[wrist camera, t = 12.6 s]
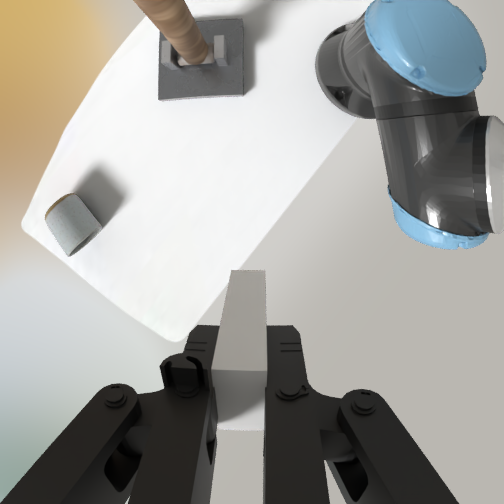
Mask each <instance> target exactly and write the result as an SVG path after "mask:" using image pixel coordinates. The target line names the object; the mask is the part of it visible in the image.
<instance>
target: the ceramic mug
mask: <svg viewBox="0 0 504 504" xmlns="http://www.w3.org/2000/svg"><path fill="white" fill-rule="evenodd" d="M45 221H46V224H47V226H48V228H49V229H50V231H51V232H52V234H53V235H54V237H55V238H56V240H57V242H58V243H59V245H60V246H61V248H62V249H63V251H64V252H65V253H66V255H67V256H68V257H69V256H72V255H74V254H75V253H76V252H78V251H79V250H80V249H82V248H83V247H84V246H85V245H86V244H88V243H89V242H90V241H91V240H92V239H93V238H94V237H95V236H96V235H97V234H98V233H99V232H100V231H101V229H102V226H101V225H100V223H99V222H98V221H97V220H96V218H95V217H94V216H93V215H92V213H91V212H90V211H89V209H88V208H87V207H86V206H85V204H84V203H83V201H82V200H81V199H80V198H79V197H78V196H77V195H76V194H73V193H70V194H67V195H65V196H63V197H61V198H60V199H59V200H57V201H56V202H55V203H54V204H53V205H52V206H51V207H50V208H49V209H48V211H47V212H46V215H45Z"/></svg>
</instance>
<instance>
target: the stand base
mask: <svg viewBox="0 0 504 504" xmlns="http://www.w3.org/2000/svg"><path fill="white" fill-rule="evenodd" d="M196 24H197V26H198V28H199V30H200V32H201V34H202V36H203V38H204V40H205V42H206V43H214V59H215V62H214V63H208V64H198V65H183V66H180V65H179V63H178V55H177V53H178V52H177V50H176V49H175V48H174V47H173V46H172V44H171V43H170V42H169V41H168V40H167V39H166V37H165V36H164V35H163V34H162V33H161V31H160V39H159V81H158V100H160V101H170V100H181V99H194V98H211V97H238V96H243V21H242V19H225V20H209V21H198V22H196Z"/></svg>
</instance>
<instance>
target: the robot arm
mask: <svg viewBox="0 0 504 504" xmlns="http://www.w3.org/2000/svg"><path fill="white" fill-rule="evenodd" d="M315 69H316V75H317V79H318V82H319V84H320V87H321V89H322V90H323V92H324V94H325V95H326V96H327V98H328V99H329V100H330V101H331V102H332V103H333V104H334V105H335V106H337V107H338V108H339V109H341V110H342V111H344V112H346V113H348V114H350V115H352V116H355V117H359V118H365V119H376V121H377V125H378V130H379V135H380V139H381V144H382V149H383V154H384V159H385V165H386V170H387V176H388V182H389V185H388V194H389V197H390V198H391V201H392V206H393V211H394V217H395V220H396V222H397V223H398V225H399V227H400V228H401V230H402V231H403V232H404V233H405V234H406V235H408V236H409V237H411V238H412V239H414V240H416V241H418V242H420V243H423V244H426V245H429V246H432V247H437V248H442V249H457V248H458V247H462V248H464V249H468V248H473V247H476V246H478V245H480V244H482V243H483V242H484V241H485V240H486V239H487V237H488V235H489V233H496V234H500V233H501V232H502V231H504V123H503V122H502V121H501V120H500V119H499V118H498V117H496V116H480V115H479V112H478V107H477V102H476V97H475V92H474V89H476V87H477V86H478V85H479V84H480V83H481V81H482V79H483V75H482V73H483V72H484V71H485V70H486V54H485V49H484V46H483V43H482V40H481V38H480V36H479V34H478V32H477V30H476V28H475V27H474V25H473V24H472V22H471V21H470V19H469V18H468V17H467V16H466V15H465V14H464V13H463V12H462V11H461V10H460V9H459V8H458V7H457V6H454V5H452V4H451V3H450V2H449V1H448V0H375V1H373V2H372V3H371V4H370V6H368V8H367V10H366V11H365V12H364V13H363V14H362V16H361V17H360V18H359V19H358V20H357V21H356V23H352V24H347V25H344V26H341V27H339V28H337V29H335V30H334V31H332V32H331V33H330V34H329V35H328V36H327V37H326V38H325V40H324V41H323V42H322V44H321V45H320V47H319V49H318V52H317V55H316V62H315ZM265 284H266V283H265V271H258V270H256V271H255V270H252V271H251V270H247V271H246V270H231V275H230V279H229V284H228V289H227V294H226V298H225V303H224V308H223V313H222V318H221V323H220V326H211V325H197V326H196V327H195V328H194V329H193V330H192V331H191V332H190V333H189V336H188V339H187V343H186V345H185V348H184V351H183V353H180V354H175V355H172V356H169V357H168V358H166V359H165V360H163V362H162V363H161V365H160V370H161V375H162V379H163V383H164V389H162V390H160V391H156V392H152V393H144V394H137V393H136V391H135V390H134V389H133V388H132V387H130V386H128V385H126V384H111V385H108V386H106V387H104V388H102V389H101V390H100V391H99V392H97V394H96V395H95V396H94V397H93V398H92V399H91V400H90V401H89V403H88V404H87V405H86V406H85V407H84V408H83V409H82V410H81V412H80V413H79V414H78V415H77V416H76V417H75V418H74V419H73V420H72V422H71V423H70V424H69V425H68V426H67V427H66V428H65V429H64V430H63V432H62V433H61V434H60V435H59V436H58V437H57V438H56V439H55V441H54V442H53V443H52V444H51V445H50V446H49V447H48V449H47V450H46V451H45V452H44V453H43V454H42V455H41V457H40V458H39V459H38V460H37V461H36V462H35V463H34V465H33V466H32V467H31V468H30V469H29V470H28V471H27V473H26V474H25V475H24V476H23V477H22V478H21V480H20V481H19V482H18V483H17V484H16V485H15V487H14V488H13V489H12V490H11V491H10V492H9V494H8V495H7V496H6V497H5V498H4V499H3V501H2V502H1V503H0V504H125V502H126V501H127V499H128V498H129V496H130V498H129V501H128V504H210V495H211V488H212V480H213V472H214V464H215V456H216V448H217V438H216V429H217V423H218V429H225V430H259V431H262V430H263V431H264V451H263V456H264V468H263V472H264V473H263V504H330V501H329V494H328V486H327V478H326V471H325V464H324V460H326V462H327V464H328V466H329V468H330V470H331V472H332V474H333V477H334V479H335V481H336V483H337V485H338V487H339V489H340V491H341V493H342V495H343V497H344V499H345V501H346V503H347V504H459V503H458V502H457V501H456V499H455V497H454V496H453V494H452V493H451V492H450V490H449V489H448V487H447V486H446V484H445V483H444V482H443V480H442V479H441V478H440V476H439V475H438V473H437V472H436V470H435V469H434V468H433V466H432V465H431V463H430V462H429V461H428V459H427V458H426V456H425V455H424V454H423V452H422V451H421V449H420V448H419V447H418V445H417V444H416V442H415V441H414V440H413V438H412V437H411V436H410V434H409V433H408V431H407V430H406V429H405V427H404V426H403V424H402V423H401V422H400V420H399V419H398V418H397V416H396V415H395V413H394V412H393V411H392V409H391V408H390V407H389V405H388V404H387V403H386V401H385V400H384V399H383V398H382V397H381V396H380V395H379V394H378V393H375V392H373V391H371V390H365V389H358V390H353V391H350V392H348V393H346V394H345V395H344V397H343V398H342V399H340V398H335V397H329V396H326V395H322V394H320V393H318V392H316V391H315V390H314V389H313V388H312V387H311V385H309V383H308V380H307V374H306V368H305V362H304V356H303V351H302V345H301V338H300V333H299V332H298V331H297V330H296V329H295V328H294V327H293V325H290V326H289V325H287V326H266V285H265Z"/></svg>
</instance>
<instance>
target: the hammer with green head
mask: <svg viewBox="0 0 504 504" xmlns="http://www.w3.org/2000/svg"><path fill="white" fill-rule="evenodd" d="M133 1H134V2H135V3H136V4H137V5H138V6H139V7H140V9H141V10H142V11H143V12H144V13H145V14H146V15H147V16H148V18H149V19H150V20H151V21H152V22H153V23H154V24H155V26H156V27H157V28H158V29H159V30H160V31H161V33H162V34H163V35H164V36H165V37H166V39H167V40H168V41H169V42H170V43H171V44H172V46H173V47H174V48H175V49H176V50H177V52H178V53H177V55H178V63H179V65H180V66H183V65H198V64H208V63H214V62H215V59H214V43H206V42H205V40H204V38H203V36H202V34H201V32H200V30H199V28H198V26H197V24H196V22H195V20H194V18H193V16H192V14H191V12H190V11H189V9H188V7H187V5H186V3H185V1H184V0H133Z"/></svg>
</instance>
